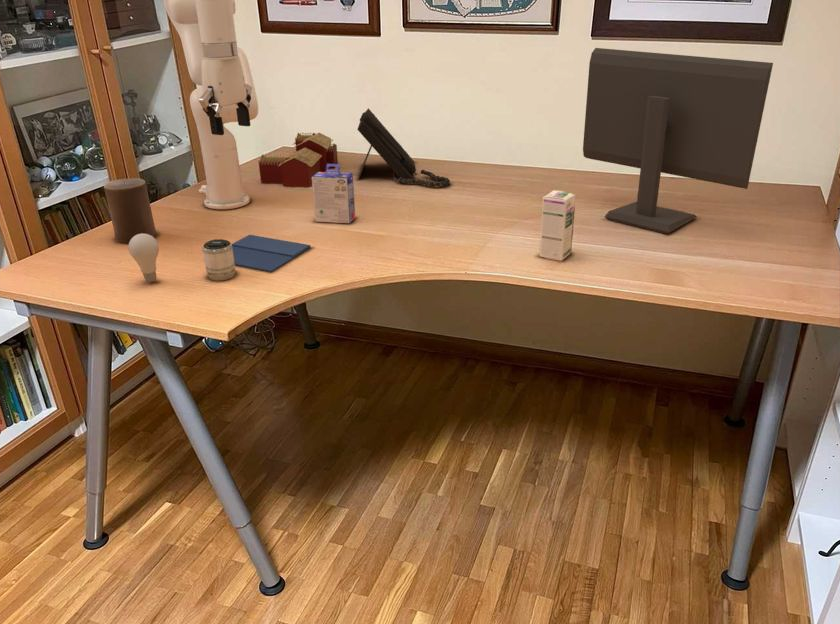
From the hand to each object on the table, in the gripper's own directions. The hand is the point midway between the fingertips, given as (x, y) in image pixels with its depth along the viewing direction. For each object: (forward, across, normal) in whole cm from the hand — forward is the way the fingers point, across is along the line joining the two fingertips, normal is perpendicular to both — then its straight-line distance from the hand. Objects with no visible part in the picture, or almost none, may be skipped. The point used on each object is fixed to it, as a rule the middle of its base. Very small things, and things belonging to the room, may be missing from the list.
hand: (231, 130), depth 165 cm
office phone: (+26, -65, +12) cm, 71 cm away
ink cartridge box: (+26, -20, +14) cm, 36 cm away
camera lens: (+26, +22, +10) cm, 36 cm away
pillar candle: (+26, +11, -26) cm, 39 cm away
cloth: (+26, +8, +10) cm, 29 cm away
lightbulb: (+26, +31, -2) cm, 41 cm away
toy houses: (+26, -61, -23) cm, 71 cm away
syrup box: (+26, -19, +74) cm, 81 cm away
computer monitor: (+26, -53, +90) cm, 108 cm away
